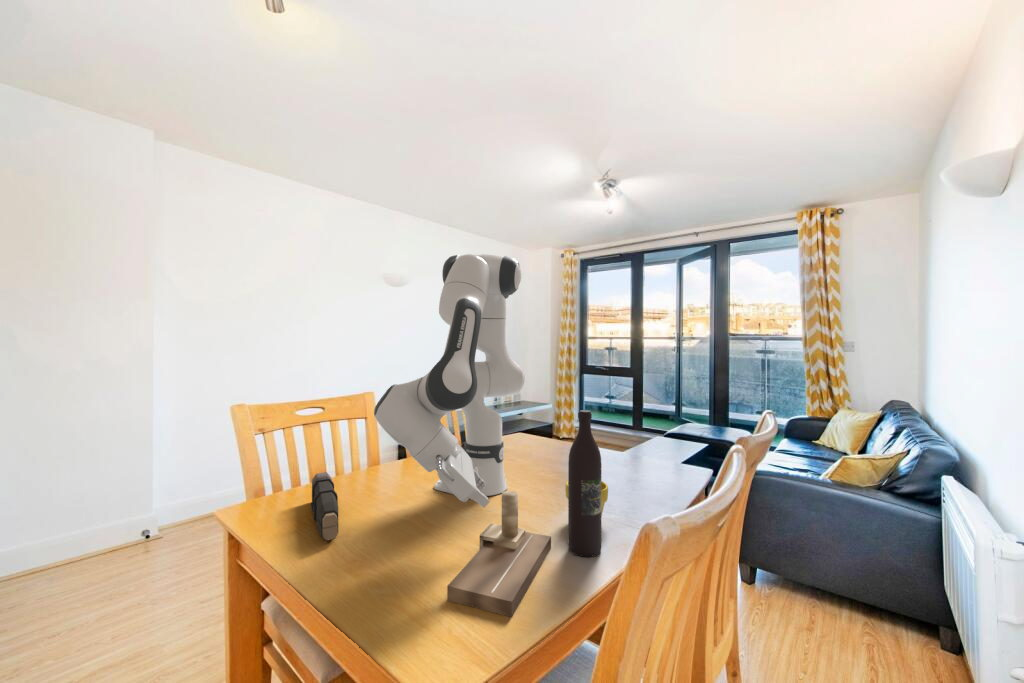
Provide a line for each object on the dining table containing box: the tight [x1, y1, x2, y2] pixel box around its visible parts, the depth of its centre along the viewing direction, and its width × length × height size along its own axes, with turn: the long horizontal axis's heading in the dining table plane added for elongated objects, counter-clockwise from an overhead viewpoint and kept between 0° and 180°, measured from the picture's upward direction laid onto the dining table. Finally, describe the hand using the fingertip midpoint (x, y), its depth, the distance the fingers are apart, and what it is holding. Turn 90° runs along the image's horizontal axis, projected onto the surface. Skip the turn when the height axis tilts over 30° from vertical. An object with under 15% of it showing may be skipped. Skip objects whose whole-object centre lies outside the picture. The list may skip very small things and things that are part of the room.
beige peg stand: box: [479, 490, 526, 550], centre depth 87 cm, size 8×6×12 cm
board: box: [446, 531, 552, 618], centre depth 79 cm, size 12×24×3 cm, turn 159°
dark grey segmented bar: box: [310, 471, 339, 541], centre depth 102 cm, size 11×7×30 cm
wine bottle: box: [567, 409, 602, 558], centre depth 88 cm, size 7×7×30 cm
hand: (484, 494), depth 86 cm, fingers open, 8 cm apart
